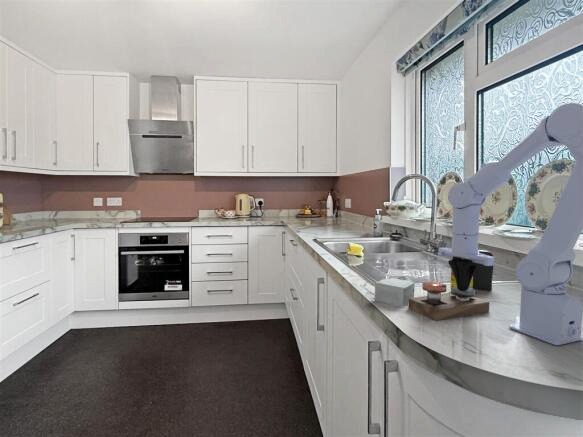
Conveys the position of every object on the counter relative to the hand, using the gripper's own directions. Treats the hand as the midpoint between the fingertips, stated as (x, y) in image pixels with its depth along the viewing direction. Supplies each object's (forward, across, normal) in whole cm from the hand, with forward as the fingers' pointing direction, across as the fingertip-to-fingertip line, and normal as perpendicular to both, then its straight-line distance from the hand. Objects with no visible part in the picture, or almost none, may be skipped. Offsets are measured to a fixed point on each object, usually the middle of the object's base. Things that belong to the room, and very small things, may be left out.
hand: (462, 289), depth 85 cm
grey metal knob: (+4, 0, 0) cm, 4 cm away
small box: (+5, +11, +12) cm, 17 cm away
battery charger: (+5, +12, -20) cm, 23 cm away
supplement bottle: (+5, +10, -10) cm, 15 cm away
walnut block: (+5, 0, +4) cm, 6 cm away
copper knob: (+2, 0, +9) cm, 9 cm away
